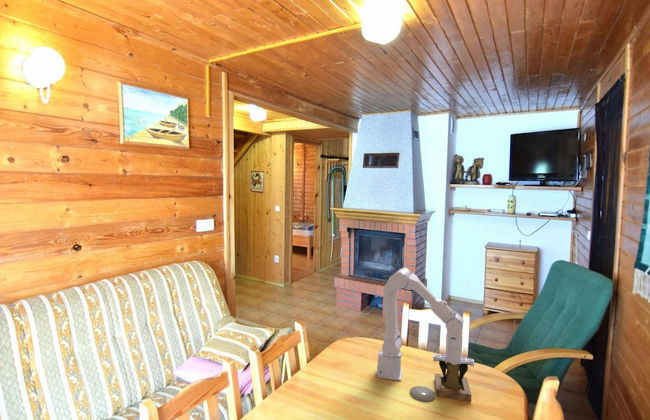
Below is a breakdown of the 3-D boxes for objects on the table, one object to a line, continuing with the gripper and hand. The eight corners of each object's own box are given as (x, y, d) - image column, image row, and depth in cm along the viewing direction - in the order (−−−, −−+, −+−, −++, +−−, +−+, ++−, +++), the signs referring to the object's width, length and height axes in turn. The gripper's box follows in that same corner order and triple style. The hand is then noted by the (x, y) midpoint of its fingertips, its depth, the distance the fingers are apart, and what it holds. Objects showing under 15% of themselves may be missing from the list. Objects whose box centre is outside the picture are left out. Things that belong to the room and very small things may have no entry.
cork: (461, 395, 134) (462, 366, 133) (444, 393, 135) (445, 365, 135) (458, 386, 140) (460, 359, 139) (442, 384, 141) (443, 357, 141)
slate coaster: (410, 399, 131) (410, 397, 131) (410, 386, 140) (410, 384, 140) (435, 403, 129) (435, 401, 129) (434, 389, 138) (434, 387, 138)
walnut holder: (436, 396, 133) (436, 389, 133) (434, 379, 145) (434, 373, 145) (471, 401, 131) (471, 394, 130) (466, 383, 142) (466, 377, 142)
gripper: (434, 349, 134) (433, 384, 135) (476, 353, 131) (474, 389, 132) (433, 341, 141) (432, 374, 142) (472, 345, 138) (471, 379, 139)
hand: (452, 381), depth 138 cm, fingers closed on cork, 5 cm apart
